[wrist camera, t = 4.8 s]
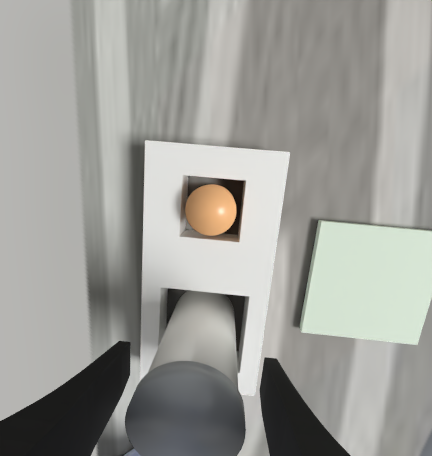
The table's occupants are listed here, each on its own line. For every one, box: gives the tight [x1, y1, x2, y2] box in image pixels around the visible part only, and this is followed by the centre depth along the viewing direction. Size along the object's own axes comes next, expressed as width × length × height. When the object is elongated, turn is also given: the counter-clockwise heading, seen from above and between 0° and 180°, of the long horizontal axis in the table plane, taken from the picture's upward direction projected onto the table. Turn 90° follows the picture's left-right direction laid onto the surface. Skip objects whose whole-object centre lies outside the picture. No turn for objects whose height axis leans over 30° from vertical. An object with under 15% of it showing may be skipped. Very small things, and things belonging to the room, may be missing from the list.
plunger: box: [185, 184, 236, 236], centre depth 14 cm, size 3×3×2 cm
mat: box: [299, 220, 432, 345], centre depth 16 cm, size 8×8×1 cm
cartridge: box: [125, 290, 246, 456], centre depth 13 cm, size 5×5×8 cm
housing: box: [140, 140, 290, 396], centre depth 15 cm, size 16×8×2 cm, turn 175°
